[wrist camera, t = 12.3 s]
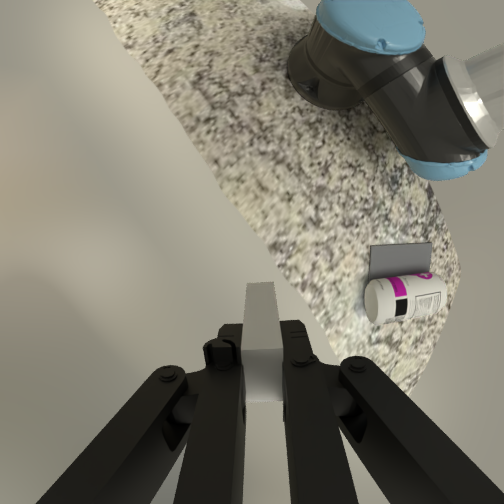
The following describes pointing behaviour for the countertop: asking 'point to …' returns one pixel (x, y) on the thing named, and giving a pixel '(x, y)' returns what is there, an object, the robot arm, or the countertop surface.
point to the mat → (399, 260)
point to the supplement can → (404, 297)
